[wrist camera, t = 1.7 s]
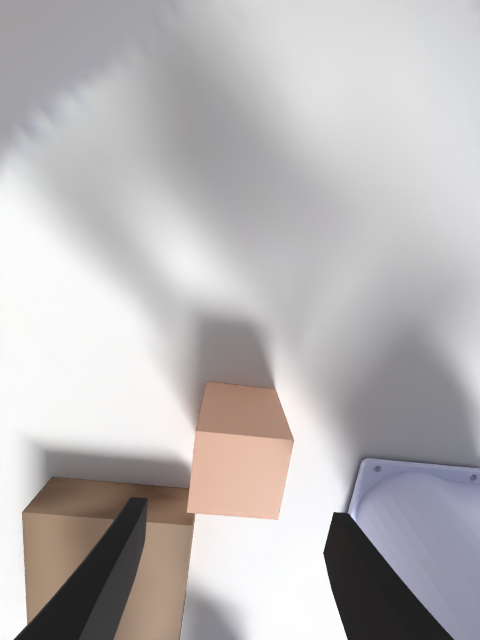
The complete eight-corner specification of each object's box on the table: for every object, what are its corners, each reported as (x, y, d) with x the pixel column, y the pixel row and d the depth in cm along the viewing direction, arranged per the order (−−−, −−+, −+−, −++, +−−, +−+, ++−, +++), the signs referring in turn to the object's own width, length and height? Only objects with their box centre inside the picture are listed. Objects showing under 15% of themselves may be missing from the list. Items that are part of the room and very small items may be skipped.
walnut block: (199, 483, 18) (192, 525, 15) (184, 606, 21) (176, 662, 18) (57, 471, 18) (22, 512, 15) (58, 599, 20) (28, 656, 17)
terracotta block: (275, 388, 16) (294, 440, 12) (264, 448, 17) (277, 519, 12) (206, 381, 16) (195, 431, 11) (199, 442, 17) (186, 512, 12)
